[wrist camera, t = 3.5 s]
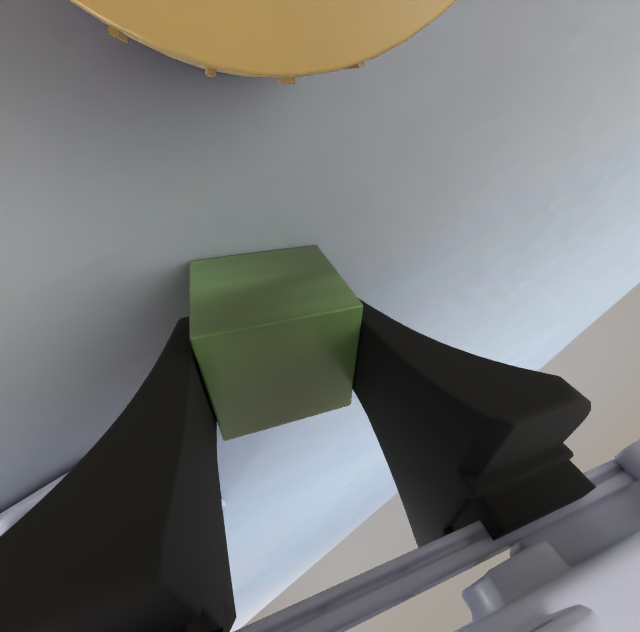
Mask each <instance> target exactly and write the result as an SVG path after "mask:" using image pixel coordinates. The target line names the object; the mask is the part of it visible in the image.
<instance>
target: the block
mask: <svg viewBox="0 0 640 632" xmlns="http://www.w3.org/2000/svg"><path fill="white" fill-rule="evenodd" d="M362 312H363V304H362V303H361V302H360V300H359V299H358V298H357V296H356V295H355V294H354V293H353V291H352V290H351V289H350V287H349V286H348V285H347V284H346V282H345V281H344V280H343V278H342V277H341V276H340V274H339V273H338V272H337V271H336V269H335V268H334V267H333V265H332V264H331V263H330V262H329V260H328V259H327V258H326V256H325V255H324V254H323V253H322V251H321V250H320V249H319V247H318V246H317V245H312V246H305V247H297V248H289V249H281V250H274V251H266V252H258V253H250V254H243V255H235V256H227V257H219V258H211V259H204V260H196V261H191V262H190V342H191V345H192V348H193V351H194V354H195V357H196V360H197V363H198V366H199V369H200V372H201V375H202V378H203V381H204V384H205V387H206V390H207V393H208V396H209V399H210V402H211V405H212V408H213V411H214V414H215V417H216V420H217V423H218V426H219V429H220V432H221V435H222V438H223V440H224V441H227V440H230V439H234V438H237V437H241V436H244V435H248V434H251V433H255V432H258V431H262V430H265V429H269V428H272V427H276V426H279V425H282V424H286V423H289V422H293V421H296V420H300V419H303V418H307V417H310V416H314V415H317V414H321V413H324V412H328V411H331V410H335V409H338V408H342V407H345V406H349V405H350V404H351V397H352V389H353V382H354V374H355V366H356V358H357V351H358V343H359V335H360V327H361V320H362Z"/></svg>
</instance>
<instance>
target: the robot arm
mask: <svg viewBox="0 0 640 632" xmlns="http://www.w3.org/2000/svg"><path fill="white" fill-rule="evenodd" d="M359 300H360V299H359ZM360 302H361V303H362V304H363V312H362V320H361V327H360V335H359V343H358V351H357V358H356V366H355V374H354V382H353V390H354V392H355V394H356V395H357V397H358V399H359V401H360V402H361V404H362V406H363V408H364V410H365V412H366V414H367V416H368V418H369V421H370V423H371V425H372V427H373V430H374V432H375V434H376V437H377V439H378V441H379V444H380V446H381V449H382V451H383V453H384V456H385V458H386V461H387V463H388V466H389V468H390V471H391V473H392V476H393V479H394V481H395V484H396V486H397V489H398V492H399V494H400V497H401V500H402V502H403V505H404V508H405V511H406V514H407V516H408V519H409V522H410V525H411V528H412V531H413V534H414V537H415V540H416V543H417V545H418V547H419V548H417V549H415V550H413V551H411V552H408V553H406V554H404V555H402V556H400V557H398V558H395V559H393V560H391V561H389V562H386V563H384V564H382V565H380V566H377V567H375V568H373V569H371V570H369V571H366V572H364V573H362V574H360V575H358V576H356V577H353V578H351V579H349V580H347V581H344V582H342V583H340V584H338V585H336V586H333V587H331V588H329V589H327V590H325V591H322V592H320V593H318V594H316V595H314V596H312V597H309V598H307V599H305V600H303V601H300V602H298V603H296V604H294V605H292V606H289V607H287V608H285V609H283V610H281V611H278V612H276V613H274V614H272V615H270V616H267V617H265V618H263V619H261V620H259V621H257V622H254V623H252V624H250V625H247V626H245V627H243V628H241V629H239V630H236V631H234V632H344V631H346V630H348V629H350V628H352V627H354V626H356V625H358V624H360V623H362V622H364V621H366V620H368V619H370V618H372V617H374V616H376V615H378V614H380V613H382V612H384V611H386V610H388V609H390V608H392V607H394V606H396V605H398V604H400V603H402V602H404V601H406V600H408V599H410V598H412V597H414V596H416V595H418V594H420V593H422V592H424V591H426V590H428V589H430V588H432V587H434V586H436V585H438V584H440V583H442V582H444V581H446V580H448V579H450V578H452V577H454V576H456V575H458V574H460V573H462V572H464V571H466V570H468V569H470V568H472V567H474V566H476V565H478V564H480V563H482V562H484V561H486V560H488V559H490V558H492V557H494V556H496V555H498V554H500V553H502V552H504V551H506V550H508V549H510V548H511V549H510V557H511V558H509V559H508V560H506V561H504V562H502V563H501V564H499V565H497V566H496V567H494V568H492V569H490V570H489V571H488V572H487V573H486V574H485V575H484V576H483V577H482V578H480V579H479V580H478V581H476V582H475V583H473V584H472V585H471V586H469V587H468V588H466V589H465V590H463V591H462V597H463V599H464V601H465V603H466V605H467V607H468V608H469V610H470V612H471V614H472V618H473V621H472V622H470V623H469V624H467V625H465V626H463V627H461V628H460V629H458V630H456V631H454V632H640V440H638V441H636V442H634V443H632V444H631V445H629V446H628V447H626V448H625V449H623V450H622V451H621V452H620V453H619V454H617V455H616V456H615V459H613V460H611V461H609V462H607V463H605V464H602V465H600V466H598V467H596V468H593V469H591V470H589V471H587V472H585V473H582V472H581V471H580V470H579V469H578V468H577V467H576V466H575V465H574V464H573V463H572V462H571V461H570V460H569V459H571V458H572V457H573V452H572V451H571V450H570V449H569V448H568V447H567V446H566V445H564V443H563V442H564V441H565V440H566V439H567V438H568V437H569V436H570V435H571V434H572V433H573V431H574V430H575V429H576V428H577V427H578V426H579V425H580V424H581V423H582V422H583V421H584V420H585V418H586V417H587V416H588V414H589V412H590V410H591V402H590V401H589V400H588V399H587V398H585V397H584V396H583V395H582V394H581V393H579V392H578V391H577V390H576V389H575V388H573V387H572V386H571V385H570V384H568V383H567V382H566V381H565V380H564V379H562V378H561V377H559V376H556V375H551V374H546V373H542V372H537V371H533V370H528V369H524V368H519V367H515V366H511V365H507V364H504V363H500V362H497V361H493V360H489V359H486V358H483V357H480V356H476V355H473V354H471V353H468V352H465V351H462V350H459V349H456V348H453V347H451V346H448V345H446V344H443V343H441V342H438V341H436V340H434V339H432V338H429V337H427V336H425V335H422V334H420V333H418V332H416V331H414V330H412V329H410V328H408V327H406V326H404V325H402V324H401V323H399V322H397V321H395V320H393V319H391V318H390V317H388V316H386V315H385V314H383V313H381V312H380V311H378V310H376V309H375V308H373V307H371V306H370V305H368V304H366V303H365V302H363V301H362V300H360ZM225 507H226V505H225V500H224V499H221V491H220V482H219V472H218V463H217V420H216V417H215V414H214V411H213V408H212V405H211V402H210V399H209V396H208V393H207V390H206V387H205V384H204V381H203V378H202V375H201V372H200V369H199V366H198V363H197V360H196V357H195V354H194V351H193V348H192V345H191V342H190V317H184V318H180V319H179V320H178V322H177V324H176V326H175V328H174V330H173V332H172V334H171V336H170V338H169V340H168V342H167V344H166V346H165V348H164V350H163V352H162V353H161V355H160V357H159V359H158V360H157V362H156V364H155V365H154V367H153V369H152V370H151V372H150V373H149V375H148V377H147V378H146V380H145V381H144V383H143V384H142V386H141V387H140V389H139V390H138V392H137V393H136V395H135V396H134V397H133V399H132V400H131V401H130V403H129V404H128V405H127V407H126V408H125V409H124V411H123V412H122V413H121V414H120V416H119V417H118V418H117V420H116V421H115V422H114V423H113V424H112V426H111V427H110V428H109V429H108V430H107V431H106V433H105V434H104V435H103V436H102V437H101V438H100V440H99V441H98V442H97V443H96V444H95V445H94V446H93V447H92V449H91V450H90V451H89V452H88V453H87V454H86V455H85V456H84V457H83V458H82V460H81V461H80V462H79V463H78V464H77V465H76V466H75V467H74V468H73V469H72V470H71V471H69V472H68V473H66V474H64V475H63V476H61V477H59V478H58V479H56V480H55V481H53V482H51V483H50V484H48V485H46V486H45V487H43V488H41V489H40V490H38V491H36V492H35V493H33V494H32V495H30V496H28V497H27V498H25V499H23V500H22V501H20V502H18V503H17V504H15V505H13V506H12V507H10V508H8V509H7V510H5V511H4V512H2V513H0V632H230V630H231V628H232V626H233V623H234V621H235V619H236V611H235V604H234V597H233V589H232V582H231V574H230V567H229V559H228V551H227V543H226V534H225V526H224V518H223V510H224V508H225Z"/></svg>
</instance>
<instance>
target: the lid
mask: <svg viewBox="0 0 640 632" xmlns="http://www.w3.org/2000/svg"><path fill="white" fill-rule="evenodd" d="M69 1H71V2H72V3H74V4H76V5H77V6H79V7H80V8H82V9H84V10H85V11H87V12H88V13H90V14H91V15H93V16H95V17H96V18H98V19H99V20H101V21H103V22H104V23H106V24H107V25H108V33H109V34H111V35H112V36H114V37H116V38H117V39H119V40H121V41H123V42H125V43H126V44H127V43H128V37H129V38H131V39H133V40H136V41H138V42H140V43H142V44H144V45H146V46H148V47H150V48H152V49H154V50H156V51H158V52H160V53H162V54H164V55H166V56H169V57H171V58H174V59H177V60H180V61H183V62H186V63H189V64H192V65H195V66H198V67H201V68H204V69H205V75H206V76H209V77H216V72H222V73H227V74H233V75H239V76H244V77H277V83H278V84H295V77H301V76H307V75H314V74H320V73H326V72H333V71H338V70H341V69H348V68H359V67H361V66H364V61H367V60H370V59H373V58H375V57H377V56H379V55H381V54H382V53H384V52H386V51H388V50H390V49H392V48H394V47H395V46H397V45H399V44H401V43H403V42H405V41H407V40H408V39H409V38H411V37H412V36H414V35H415V34H416V33H418V32H419V31H420V30H422V29H423V28H424V27H426V26H427V25H428V24H430V23H431V22H432V21H434V20H435V19H436V18H438V17H439V16H440V15H442V14H443V13H444V12H445V11H446V10H447V9H448V8H449V7H450V6H451V5H452V4H453V3H454V2H455V1H456V0H69Z"/></svg>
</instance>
